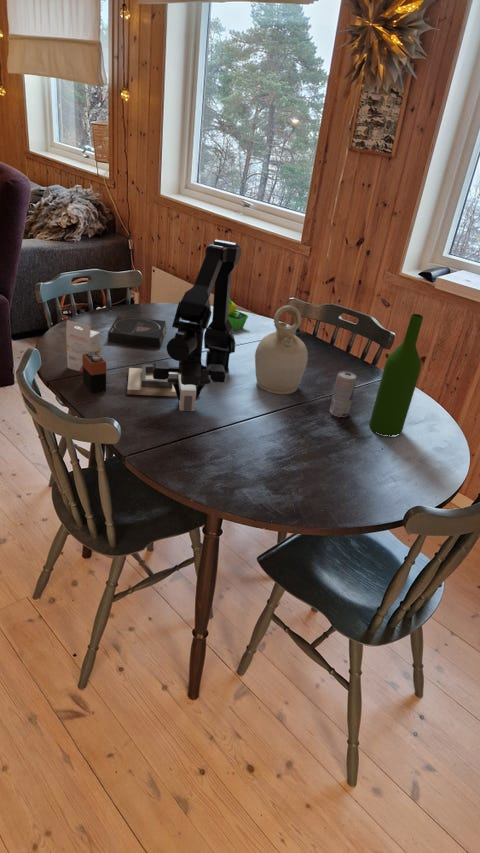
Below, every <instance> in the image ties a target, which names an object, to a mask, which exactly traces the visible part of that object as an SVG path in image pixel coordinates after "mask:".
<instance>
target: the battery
mask: <svg viewBox="0 0 480 853" xmlns="http://www.w3.org/2000/svg"><path fill="white" fill-rule="evenodd" d="M82 358H83V372H82V383H83V385H84V387H85V388H86V389H87V390H88V391H89V392H90V393H91V395H92V394H99V393H104V392H107V361H106V360H105V359H104V357H102V356H101V354H100V355H99V354H98V353H95V352H93V351H90V352H89V353H88V354H83V355H82Z"/></svg>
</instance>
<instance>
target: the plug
mask: <svg viewBox="0 0 480 853" xmlns="http://www.w3.org/2000/svg"><path fill="white" fill-rule="evenodd" d="M196 402H197V400H196V385H183V384H182V383H181V380H180V401H178V405H179V406H178V409H179V411H183V412H185V411H186V412H195V410H196V408H195V407H196Z"/></svg>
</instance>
